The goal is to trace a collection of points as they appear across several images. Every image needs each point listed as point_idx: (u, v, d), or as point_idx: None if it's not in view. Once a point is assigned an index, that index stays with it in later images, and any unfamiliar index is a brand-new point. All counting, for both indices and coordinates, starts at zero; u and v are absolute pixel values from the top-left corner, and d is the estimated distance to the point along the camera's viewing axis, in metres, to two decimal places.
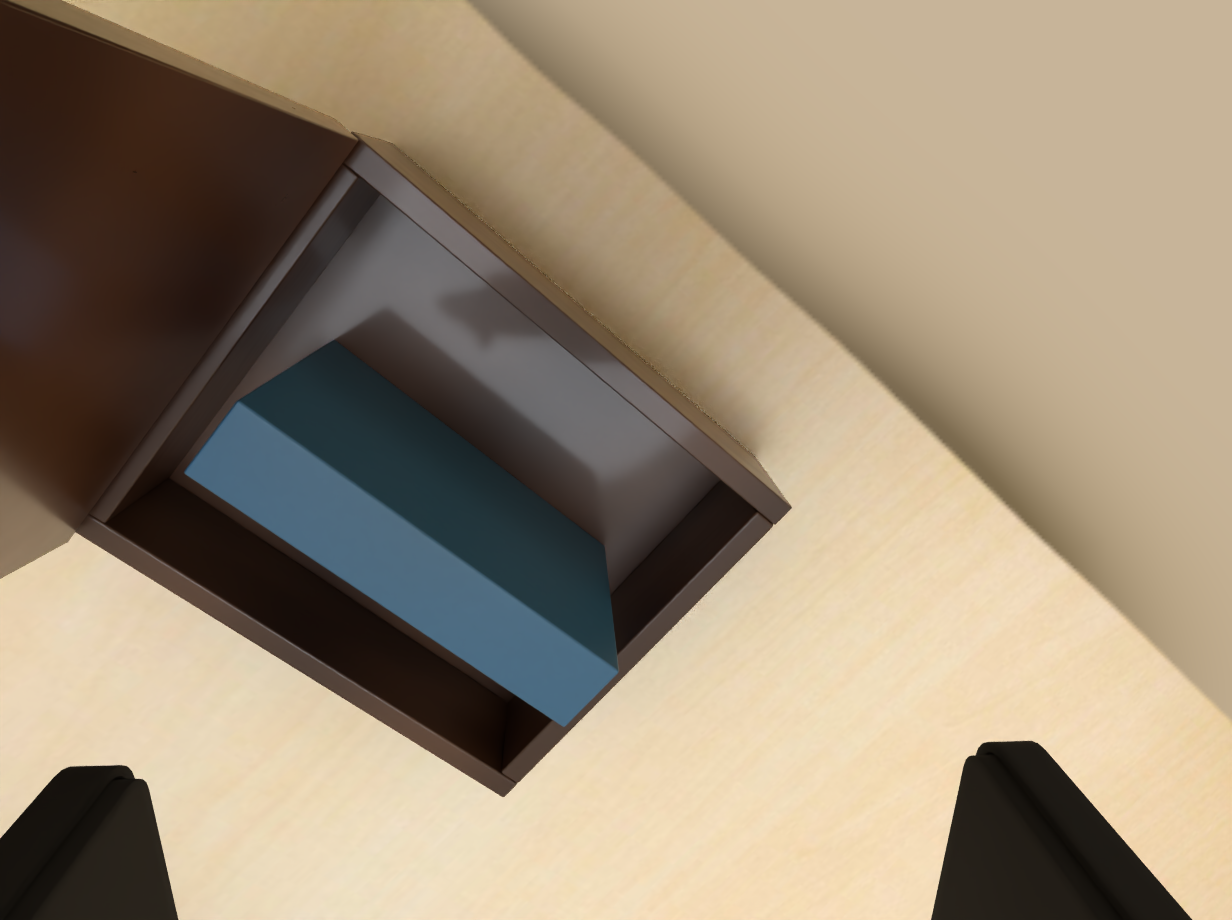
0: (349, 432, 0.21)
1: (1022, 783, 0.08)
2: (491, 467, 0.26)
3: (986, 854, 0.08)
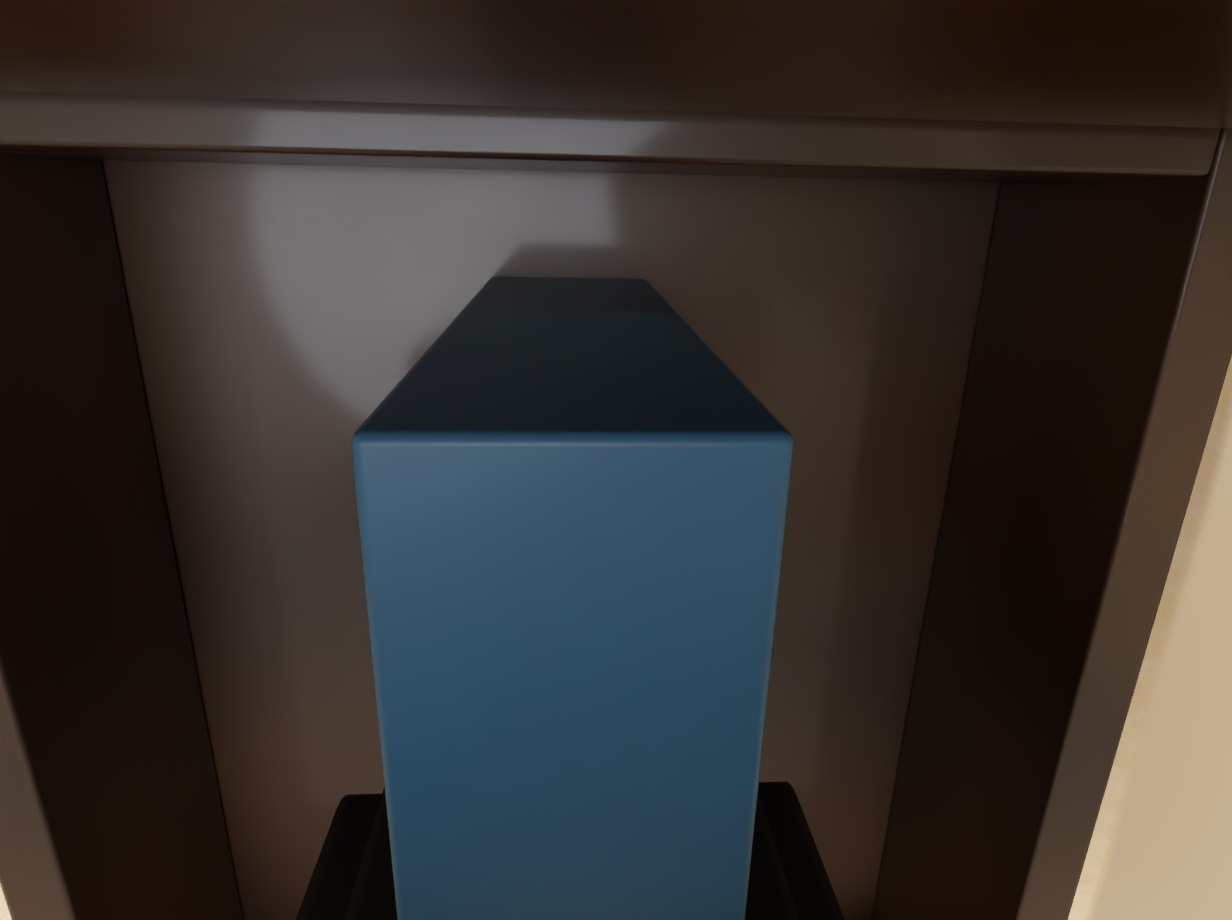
0: None
1: None
2: None
3: None
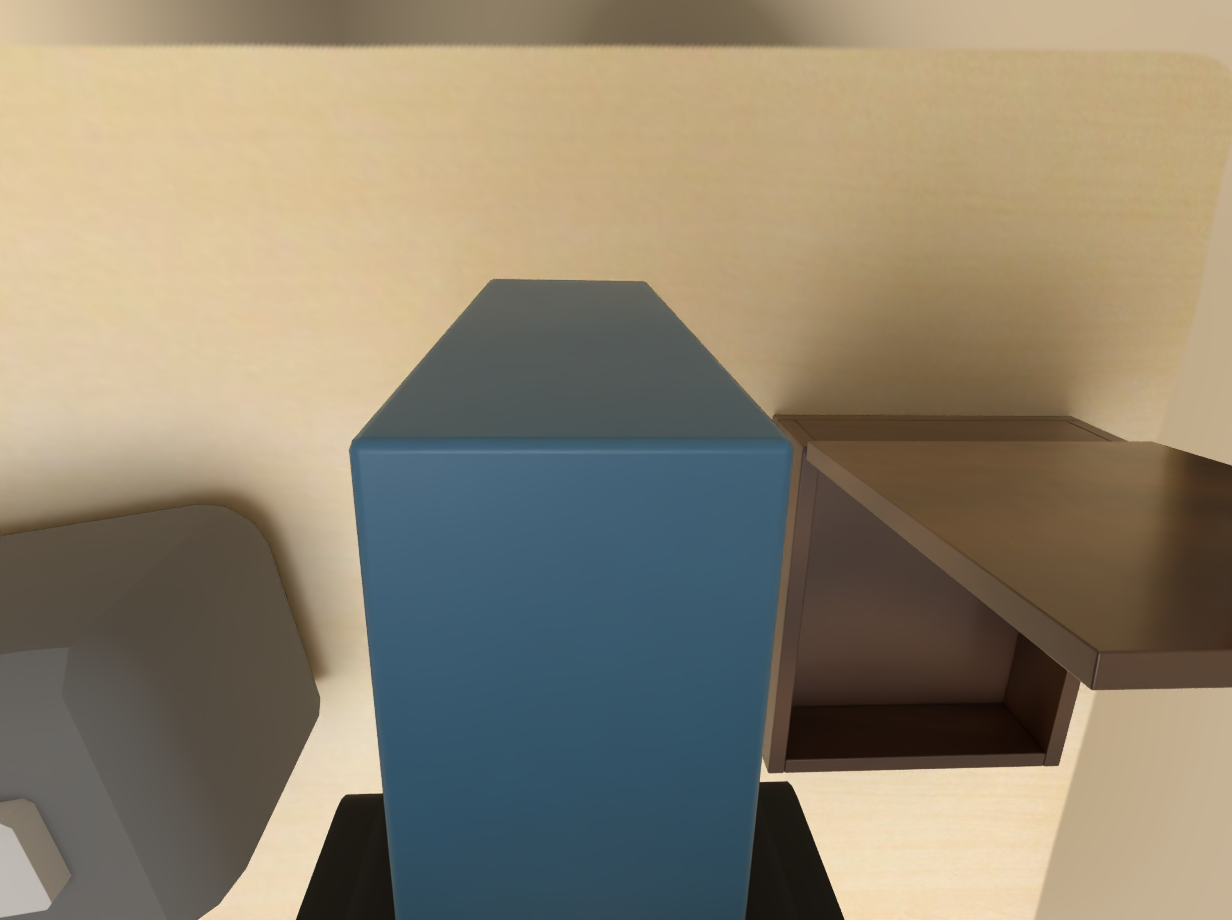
0: None
1: None
2: None
3: None
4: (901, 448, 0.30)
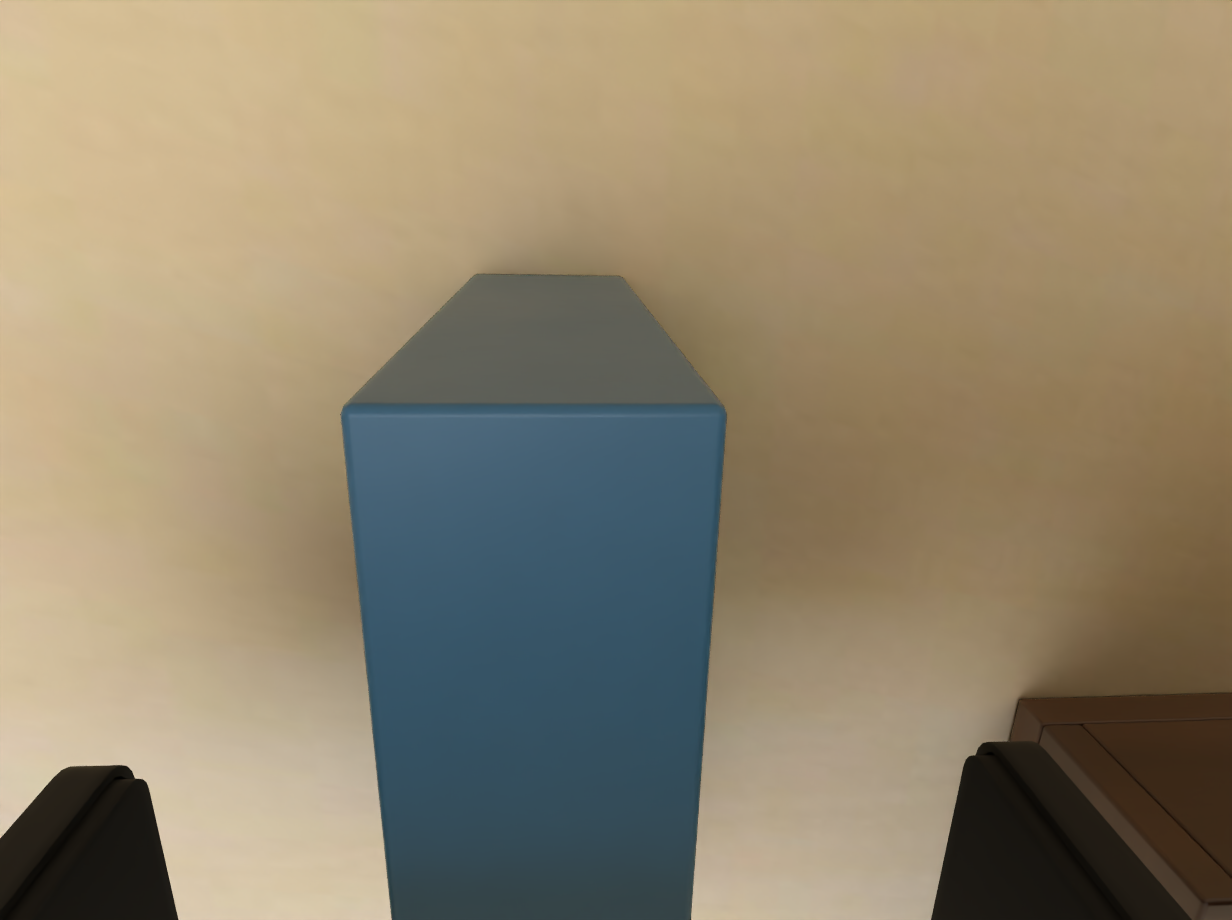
0: None
1: (1022, 784, 0.08)
2: None
3: (986, 854, 0.08)
4: None
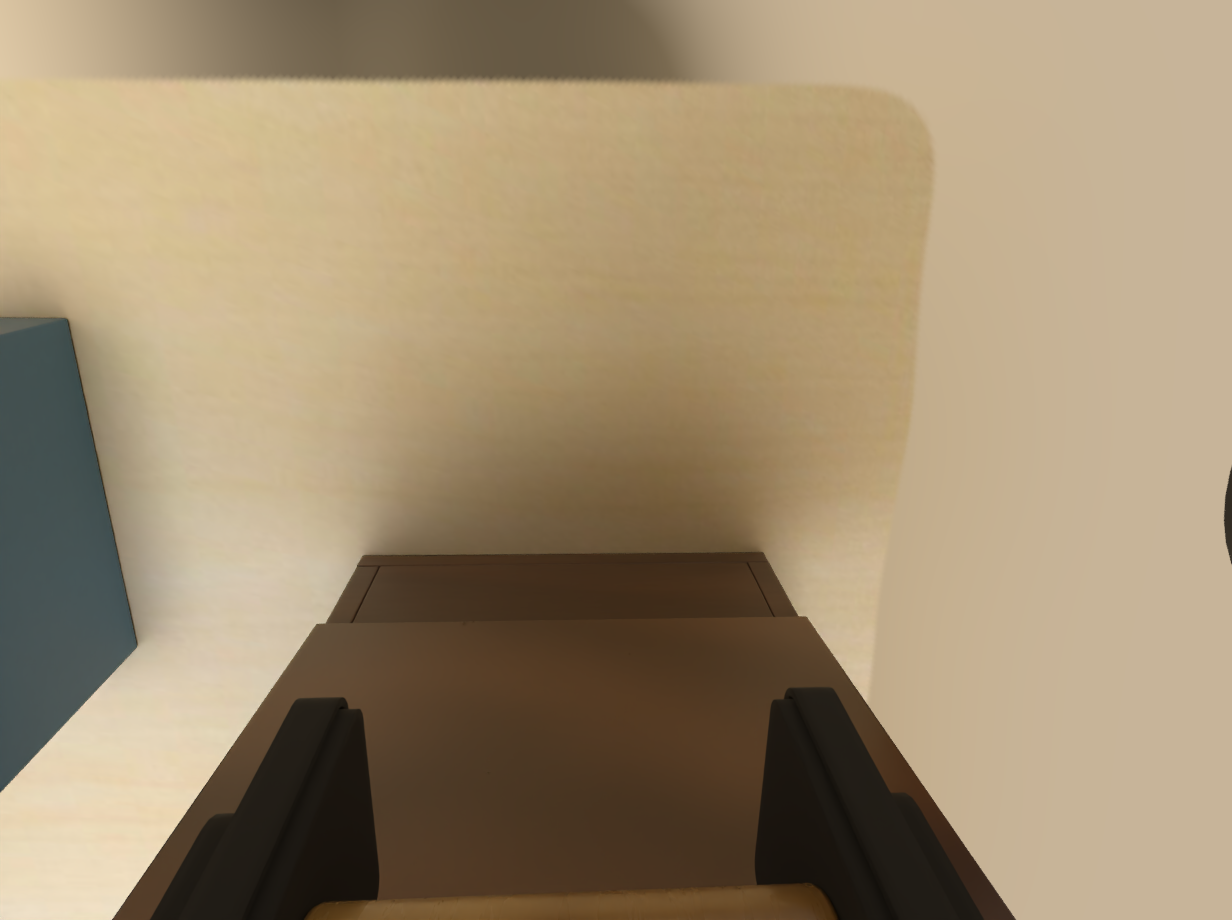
0: None
1: (809, 723, 0.09)
2: (97, 522, 0.25)
3: (780, 787, 0.09)
4: (422, 643, 0.21)
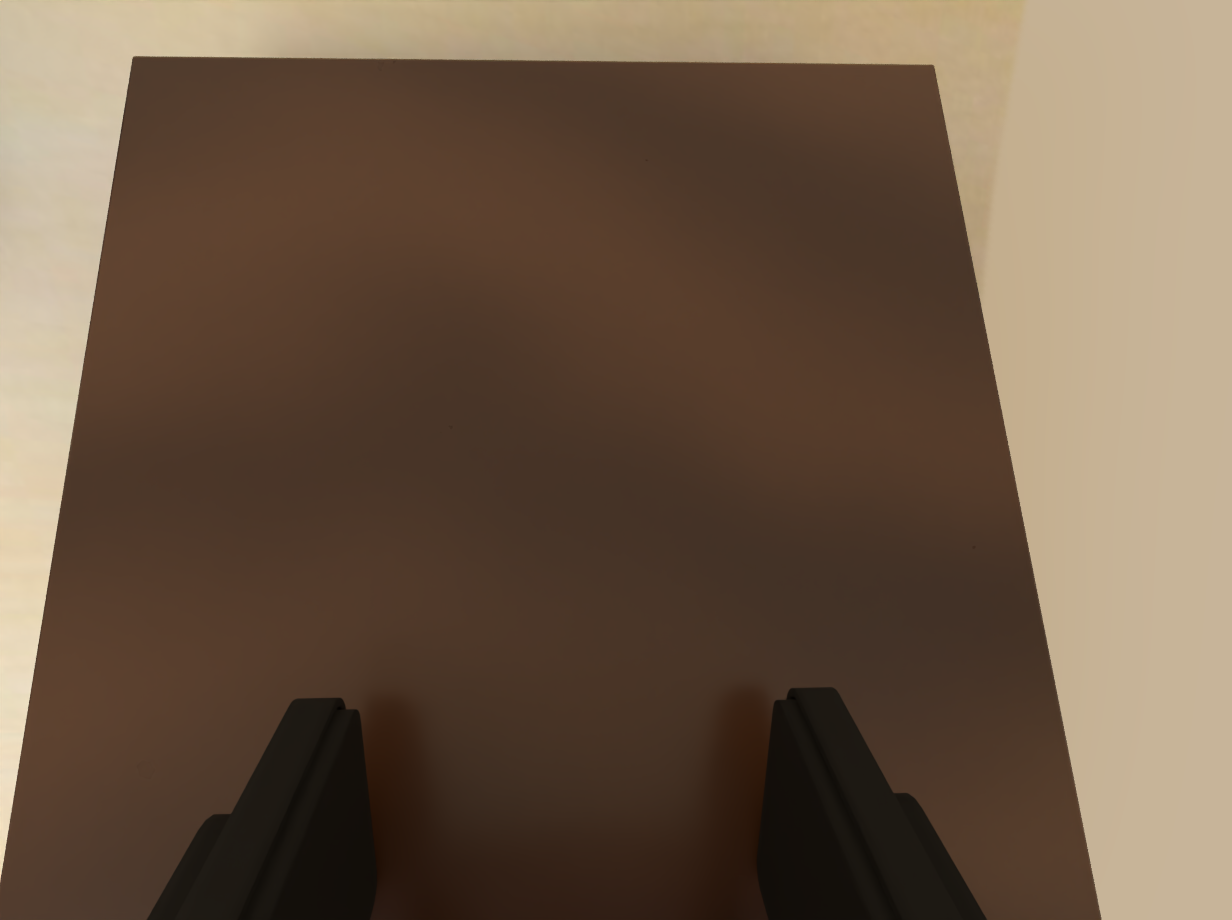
0: None
1: (811, 723, 0.09)
2: None
3: (783, 787, 0.09)
4: (319, 120, 0.13)
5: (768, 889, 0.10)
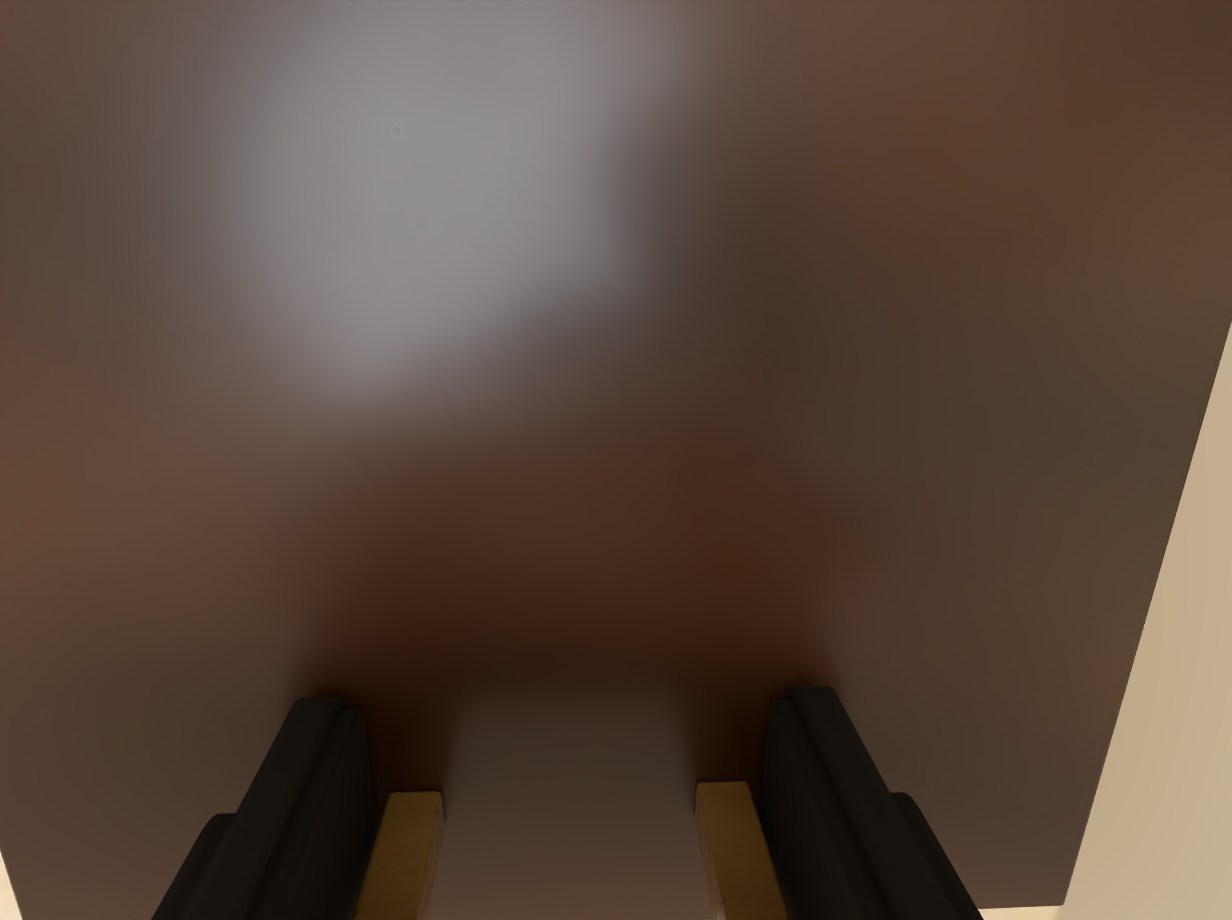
0: None
1: (809, 722, 0.09)
2: None
3: (780, 786, 0.09)
4: None
5: None
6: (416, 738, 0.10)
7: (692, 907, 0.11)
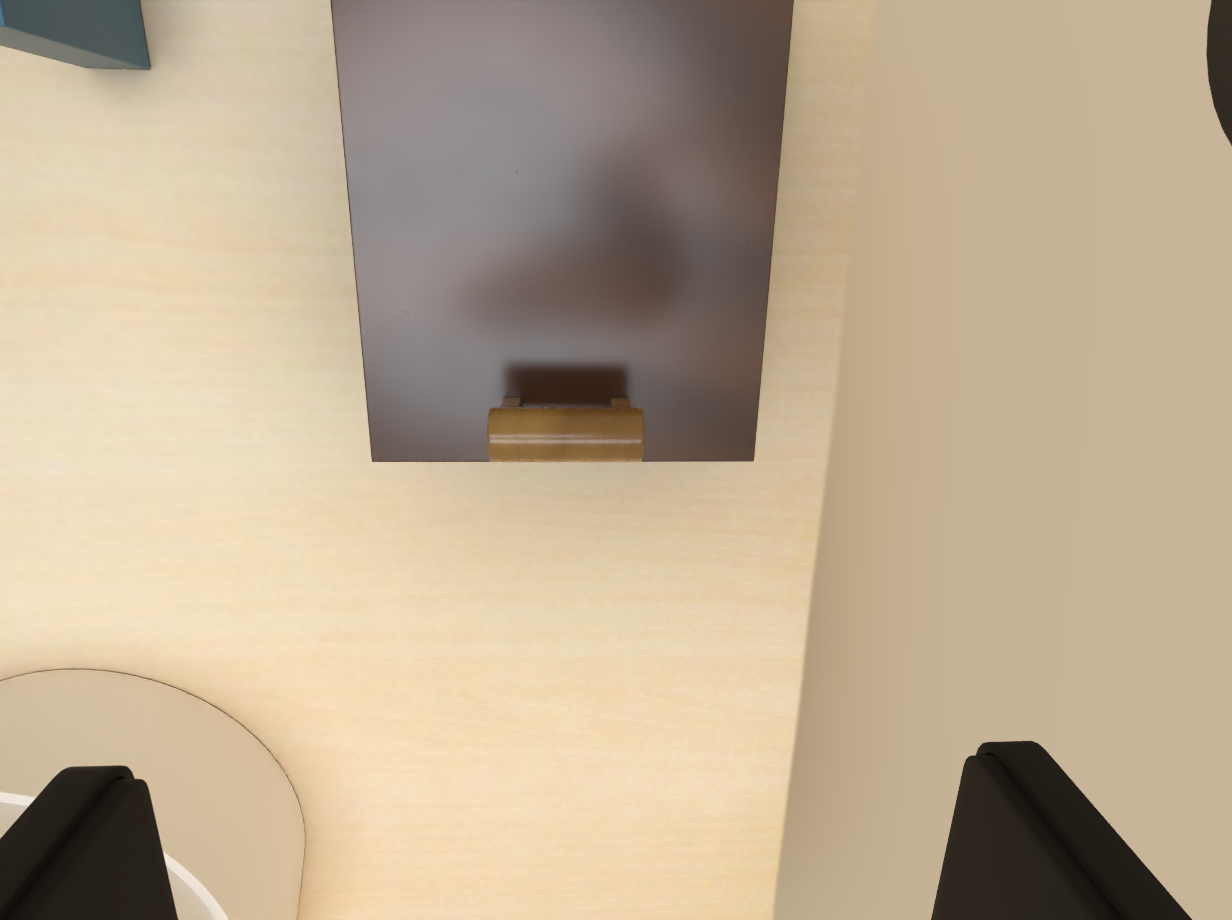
0: None
1: (1021, 784, 0.08)
2: None
3: (986, 854, 0.08)
4: None
5: None
6: (513, 376, 0.28)
7: None
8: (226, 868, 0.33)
